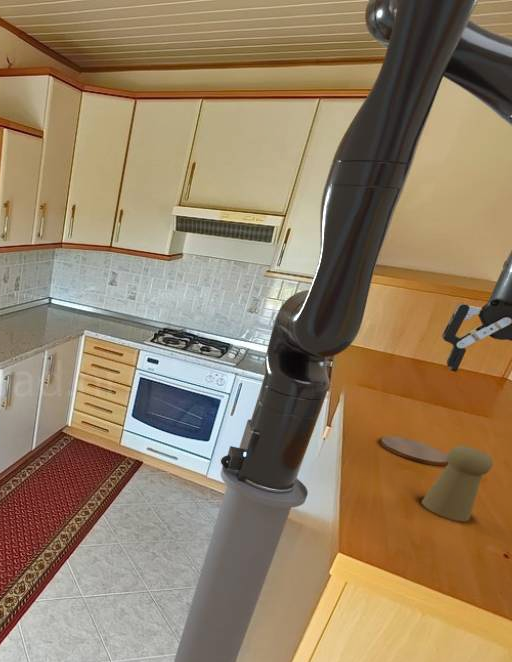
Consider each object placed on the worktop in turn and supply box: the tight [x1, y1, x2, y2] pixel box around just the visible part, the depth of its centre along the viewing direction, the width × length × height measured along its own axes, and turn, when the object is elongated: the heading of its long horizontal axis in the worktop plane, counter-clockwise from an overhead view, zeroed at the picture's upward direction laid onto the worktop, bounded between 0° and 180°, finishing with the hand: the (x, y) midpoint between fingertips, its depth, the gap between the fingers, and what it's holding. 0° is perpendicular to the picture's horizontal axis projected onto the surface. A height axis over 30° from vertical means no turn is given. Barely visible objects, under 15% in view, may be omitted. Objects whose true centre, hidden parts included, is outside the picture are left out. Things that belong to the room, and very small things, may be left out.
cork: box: [421, 445, 494, 522], centre depth 78 cm, size 6×6×11 cm
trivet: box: [380, 435, 448, 466], centre depth 100 cm, size 11×11×1 cm
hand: (488, 377), depth 76 cm, fingers open, 8 cm apart
